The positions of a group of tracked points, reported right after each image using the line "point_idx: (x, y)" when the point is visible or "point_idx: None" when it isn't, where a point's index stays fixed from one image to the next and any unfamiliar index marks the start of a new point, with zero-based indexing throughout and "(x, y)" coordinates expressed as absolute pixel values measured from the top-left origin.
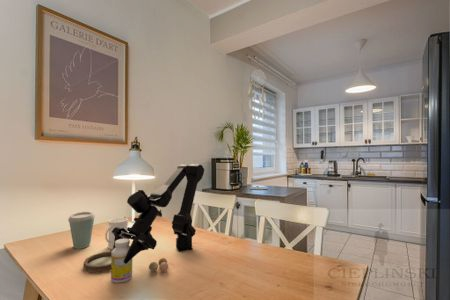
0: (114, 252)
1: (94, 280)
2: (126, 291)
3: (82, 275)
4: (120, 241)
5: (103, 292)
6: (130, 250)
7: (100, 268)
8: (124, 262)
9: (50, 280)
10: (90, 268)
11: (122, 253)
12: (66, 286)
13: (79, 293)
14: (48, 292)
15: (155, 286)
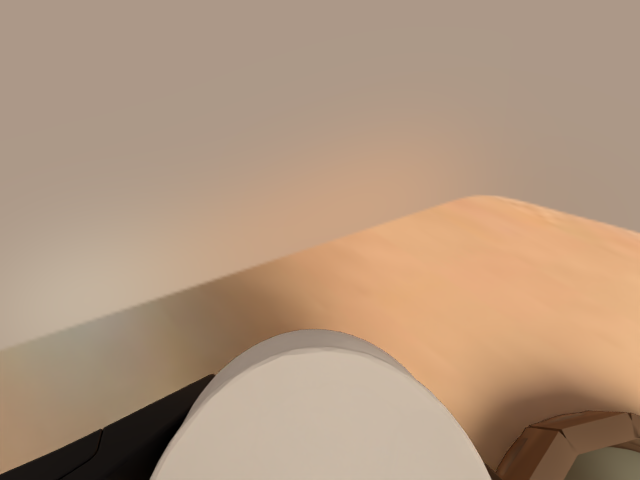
0: (330, 336)
1: (442, 347)
2: (185, 324)
3: (562, 365)
4: (331, 474)
5: (294, 277)
6: (87, 437)
7: (533, 450)
8: (213, 376)
9: (622, 265)
10: (591, 418)
11: (222, 371)
12: (497, 255)
13: (387, 236)
14: (504, 203)
15: (20, 443)
